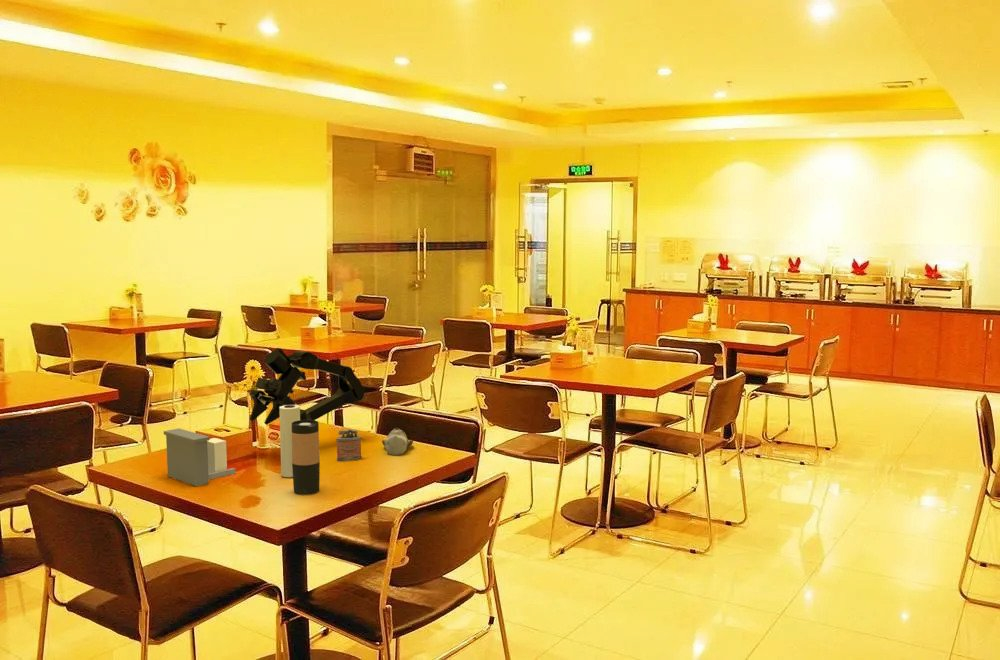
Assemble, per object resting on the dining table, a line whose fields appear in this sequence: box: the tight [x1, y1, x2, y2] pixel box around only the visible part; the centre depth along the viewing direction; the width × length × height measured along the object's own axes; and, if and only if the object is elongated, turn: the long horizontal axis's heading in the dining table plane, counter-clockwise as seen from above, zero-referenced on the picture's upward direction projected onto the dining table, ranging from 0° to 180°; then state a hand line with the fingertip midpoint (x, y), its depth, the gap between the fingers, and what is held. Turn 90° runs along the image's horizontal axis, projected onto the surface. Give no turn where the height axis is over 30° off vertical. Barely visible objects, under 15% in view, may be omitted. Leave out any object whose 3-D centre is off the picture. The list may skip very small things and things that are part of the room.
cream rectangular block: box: [207, 437, 228, 474], centre depth 264 cm, size 4×6×10 cm
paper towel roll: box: [279, 403, 301, 478], centre depth 262 cm, size 7×6×21 cm
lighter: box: [335, 428, 362, 462], centre depth 281 cm, size 8×3×10 cm, turn 108°
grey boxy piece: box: [163, 428, 236, 487], centre depth 261 cm, size 16×17×14 cm
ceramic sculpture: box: [381, 426, 414, 456], centre depth 292 cm, size 11×9×15 cm
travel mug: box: [292, 420, 321, 496], centre depth 246 cm, size 8×8×20 cm
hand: (258, 422), depth 275 cm, fingers open, 8 cm apart
